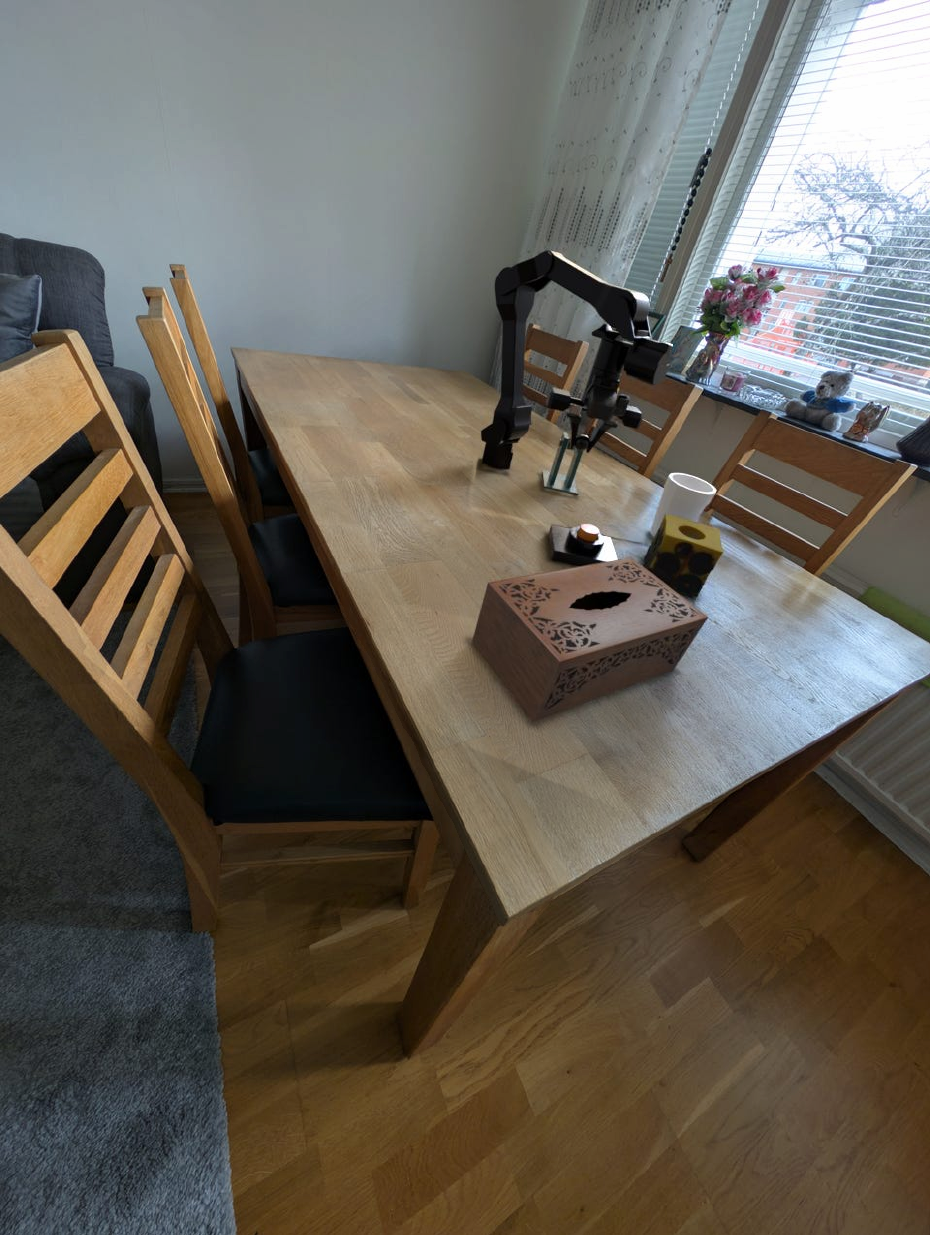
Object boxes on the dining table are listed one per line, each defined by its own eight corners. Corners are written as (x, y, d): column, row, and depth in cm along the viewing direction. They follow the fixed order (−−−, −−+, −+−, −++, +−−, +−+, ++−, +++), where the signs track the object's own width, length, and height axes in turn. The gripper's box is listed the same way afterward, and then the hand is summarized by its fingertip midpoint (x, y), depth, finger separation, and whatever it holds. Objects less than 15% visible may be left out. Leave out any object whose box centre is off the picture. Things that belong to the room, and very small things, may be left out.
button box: (550, 560, 87) (557, 541, 84) (547, 534, 94) (554, 516, 92) (614, 574, 87) (623, 555, 85) (606, 547, 95) (614, 529, 93)
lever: (589, 451, 98) (593, 435, 98) (574, 448, 98) (578, 432, 97) (575, 454, 111) (579, 439, 110) (562, 451, 111) (565, 436, 110)
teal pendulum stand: (576, 498, 111) (594, 448, 104) (543, 491, 111) (558, 440, 104) (572, 481, 119) (589, 434, 112) (541, 474, 119) (555, 426, 112)
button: (578, 539, 87) (581, 531, 86) (576, 530, 90) (579, 522, 89) (597, 543, 87) (600, 535, 86) (594, 534, 90) (598, 526, 89)
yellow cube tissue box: (694, 574, 93) (720, 529, 87) (697, 601, 86) (726, 553, 79) (642, 556, 95) (665, 511, 89) (641, 581, 87) (665, 533, 81)
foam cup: (691, 544, 104) (722, 488, 96) (675, 556, 98) (707, 497, 90) (652, 524, 108) (679, 469, 100) (634, 534, 102) (661, 477, 94)
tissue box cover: (532, 722, 56) (559, 661, 50) (471, 642, 65) (488, 582, 59) (673, 670, 69) (708, 616, 63) (606, 609, 78) (631, 557, 72)
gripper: (562, 366, 84) (537, 453, 94) (664, 391, 85) (629, 474, 95) (558, 355, 93) (535, 436, 102) (650, 377, 94) (619, 455, 103)
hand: (579, 450), depth 100 cm, fingers closed on lever, 3 cm apart
